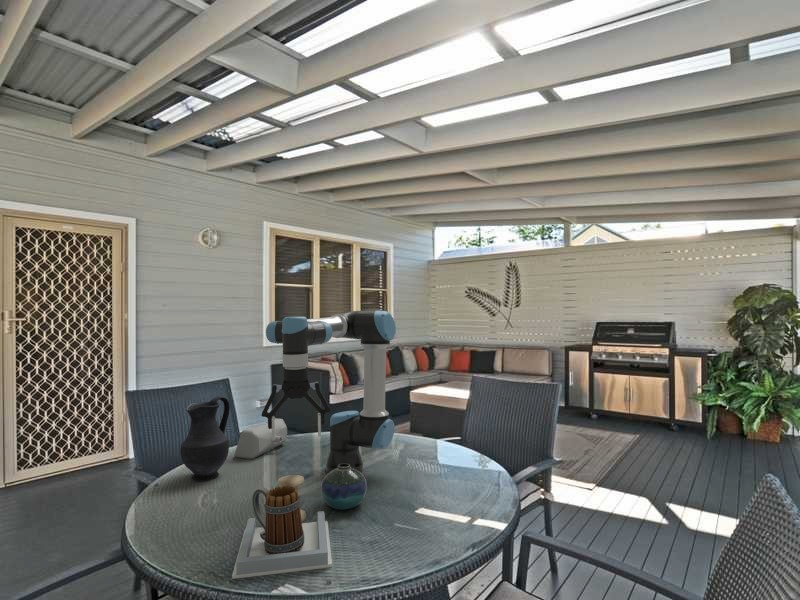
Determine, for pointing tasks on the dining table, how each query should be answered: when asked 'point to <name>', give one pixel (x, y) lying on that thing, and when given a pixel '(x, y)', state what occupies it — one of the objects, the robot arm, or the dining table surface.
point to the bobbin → (295, 482)
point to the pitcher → (206, 440)
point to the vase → (343, 487)
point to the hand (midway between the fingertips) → (296, 437)
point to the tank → (260, 440)
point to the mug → (280, 519)
